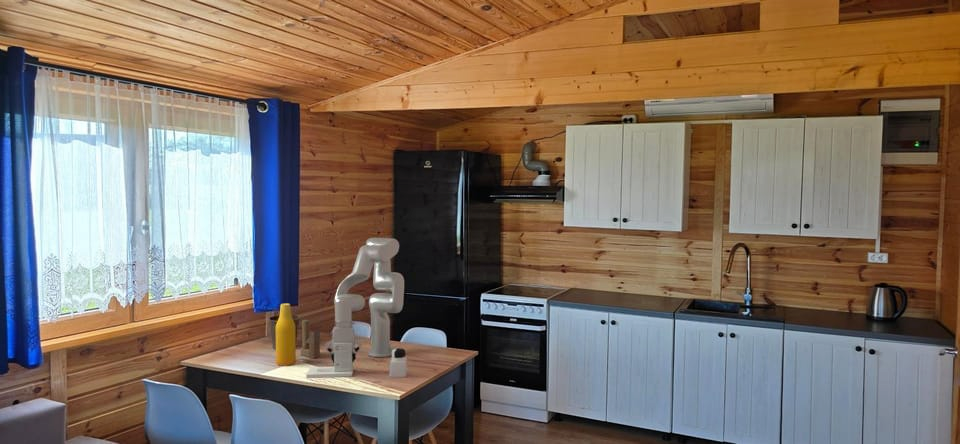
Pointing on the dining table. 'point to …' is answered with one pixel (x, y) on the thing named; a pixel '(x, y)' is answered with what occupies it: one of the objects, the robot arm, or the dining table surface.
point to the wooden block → (310, 341)
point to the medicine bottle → (398, 363)
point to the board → (326, 372)
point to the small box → (343, 357)
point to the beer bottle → (285, 337)
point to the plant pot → (273, 323)
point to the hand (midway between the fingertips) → (343, 361)
